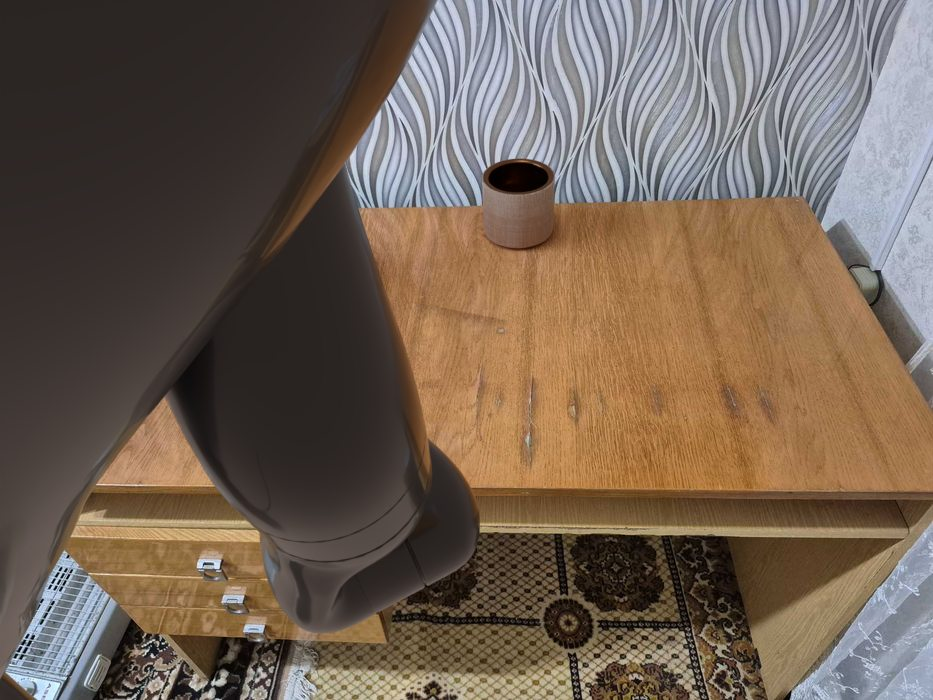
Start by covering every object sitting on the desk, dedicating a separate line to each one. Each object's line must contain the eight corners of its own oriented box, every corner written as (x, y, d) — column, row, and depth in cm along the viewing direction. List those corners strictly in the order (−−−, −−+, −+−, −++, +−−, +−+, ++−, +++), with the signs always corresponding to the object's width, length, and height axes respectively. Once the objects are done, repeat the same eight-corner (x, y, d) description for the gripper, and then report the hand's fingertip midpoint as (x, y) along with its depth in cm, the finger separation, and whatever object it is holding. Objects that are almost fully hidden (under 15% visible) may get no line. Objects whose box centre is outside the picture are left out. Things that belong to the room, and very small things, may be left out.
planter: (542, 256, 98) (544, 200, 92) (473, 244, 101) (470, 189, 95) (560, 217, 105) (563, 162, 99) (496, 207, 108) (494, 153, 102)
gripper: (377, 256, 43) (307, 153, 54) (151, 329, 39) (124, 202, 50) (392, 340, 48) (325, 231, 59) (195, 412, 44) (161, 281, 55)
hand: (233, 218), depth 54 cm, fingers open, 8 cm apart
